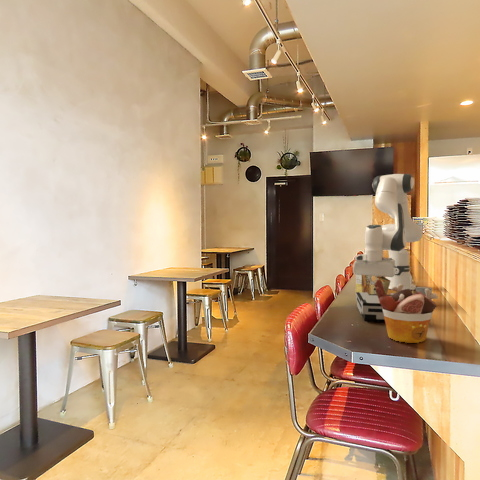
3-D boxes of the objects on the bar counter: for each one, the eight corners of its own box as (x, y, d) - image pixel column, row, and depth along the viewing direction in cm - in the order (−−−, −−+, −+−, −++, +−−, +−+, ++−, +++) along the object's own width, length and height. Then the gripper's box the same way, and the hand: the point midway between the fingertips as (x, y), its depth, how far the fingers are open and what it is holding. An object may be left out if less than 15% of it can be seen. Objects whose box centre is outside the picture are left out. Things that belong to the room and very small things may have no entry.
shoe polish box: (376, 297, 200) (383, 276, 196) (384, 302, 196) (390, 280, 192) (369, 298, 197) (376, 277, 194) (377, 303, 193) (383, 281, 189)
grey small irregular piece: (417, 302, 196) (417, 286, 196) (432, 304, 192) (433, 287, 191) (414, 304, 190) (414, 288, 190) (429, 306, 186) (430, 289, 186)
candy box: (364, 294, 217) (364, 267, 217) (371, 295, 214) (371, 267, 213) (355, 296, 212) (355, 268, 211) (362, 297, 208) (362, 269, 208)
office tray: (402, 308, 183) (402, 290, 183) (418, 325, 152) (419, 304, 152) (355, 306, 188) (355, 289, 187) (362, 323, 156) (362, 302, 156)
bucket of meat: (436, 335, 137) (436, 279, 136) (438, 349, 122) (439, 285, 121) (375, 329, 145) (376, 276, 144) (371, 342, 130) (371, 282, 129)
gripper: (397, 257, 193) (396, 285, 194) (356, 255, 205) (356, 282, 206) (393, 258, 188) (392, 287, 189) (351, 256, 200) (351, 283, 201)
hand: (373, 284), depth 197 cm, fingers closed
